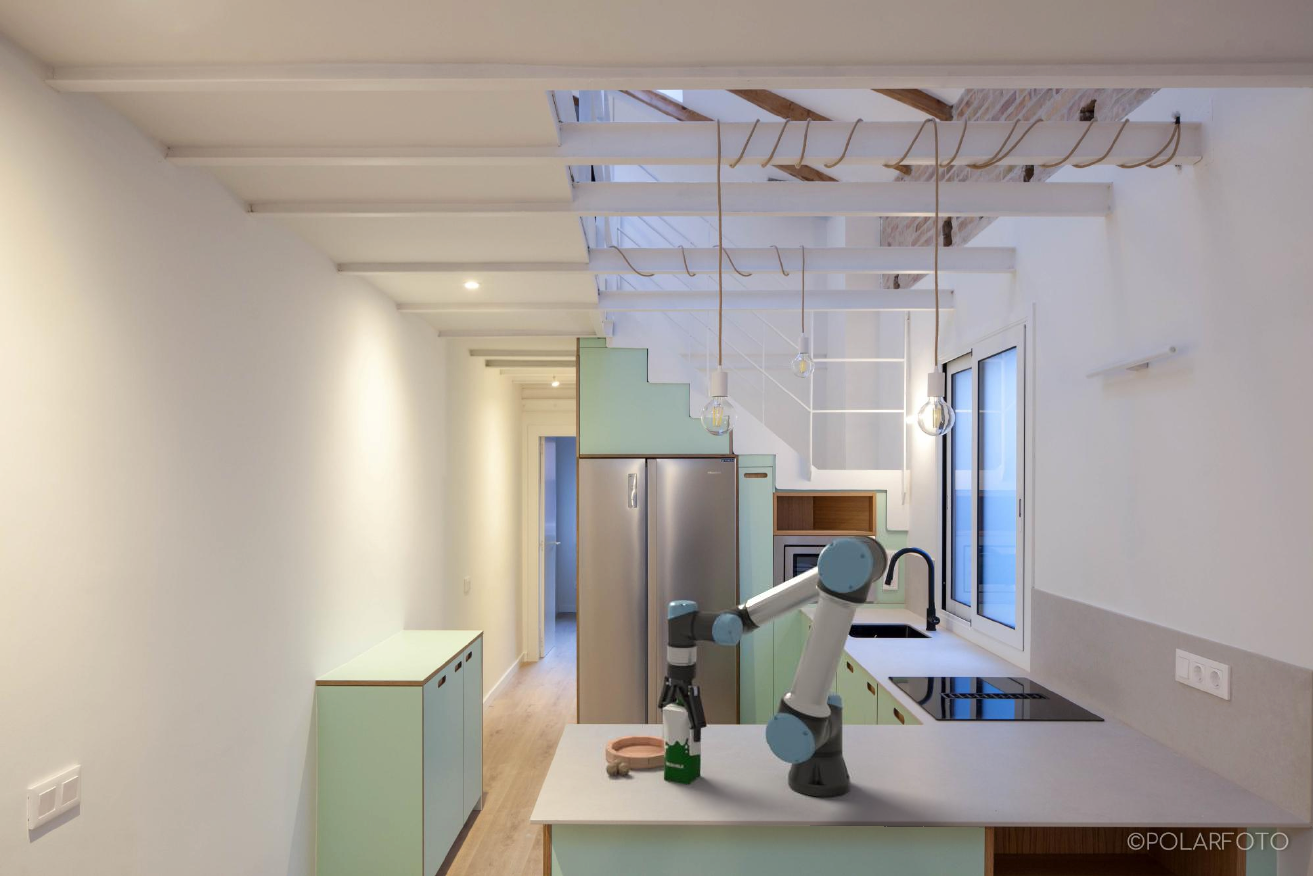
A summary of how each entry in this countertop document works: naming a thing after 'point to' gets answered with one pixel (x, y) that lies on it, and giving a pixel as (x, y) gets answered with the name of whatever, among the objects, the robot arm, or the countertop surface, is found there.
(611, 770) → the bead pile
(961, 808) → the countertop surface
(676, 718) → the soya milk
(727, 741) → the countertop surface
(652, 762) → the tray
